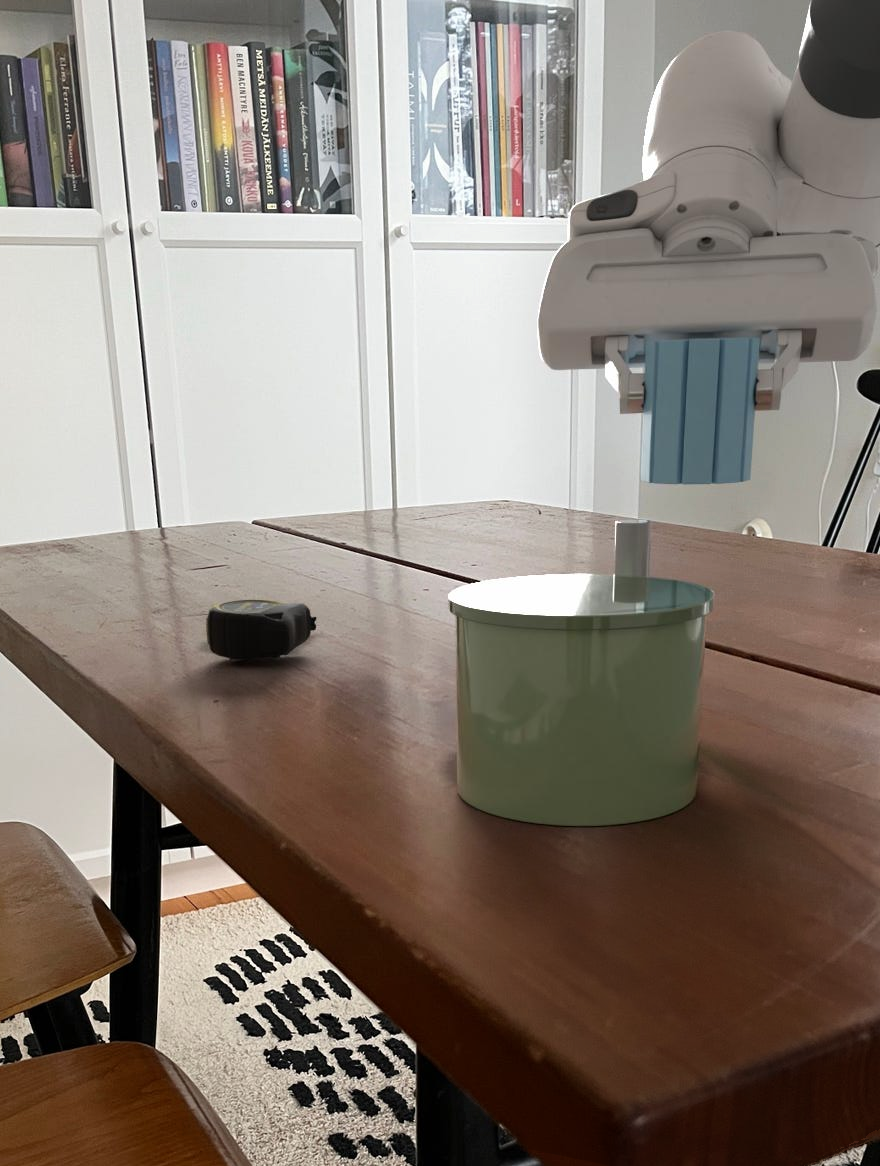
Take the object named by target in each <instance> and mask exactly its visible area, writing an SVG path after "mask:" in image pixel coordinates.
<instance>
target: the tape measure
mask: <svg viewBox="0 0 880 1166" xmlns="http://www.w3.org/2000/svg"><path fill="white" fill-rule="evenodd" d="M205 622H206V623H205V627H206V629H205V630H206V632H205V633H206V641H207V645H208V646H209V649H210V652H211V653H212V654H215V655H217V656H219V657H221V658H227V659H229V660H230V661H231V662H235V663H236V662H239V661H243V660H256V659H268V658H270V659H271V660H276V661H280V660H281V657H282V656H287V655H289V654H290V653H291V652H293V651H294V650H295V649H296V648H298V647H299V646H300V645H303V644H304V643H306V642H307V641H308V639H309V638H310V636H311V634H312V631H313V632H314V631H316V629H317V624H316V622H317V616H312V613H311V610H310V608H309V606H308V605H306V604H305V603H303V602H283V601H282V602H281V601H278V600H271V599H270V600H269V599H239V600H230V601H225V602H219V603H217V604H215V605H213V606H212V607H210V609H209V610H208V614H207V616H206V619H205Z"/></svg>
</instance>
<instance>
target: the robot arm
mask: <svg viewBox="0 0 880 1166" xmlns="http://www.w3.org/2000/svg"><path fill="white" fill-rule="evenodd" d="M642 153H643V155H642V173H643V180H642V181H640V182H637V183H634V184H633V185H630V186H627V187H625V188H622V189H619V190H616V191H613V192H610V193H607V194H603V195H599V196H597V197H593V198H589V199H585V200H582V201H580V202H577V203H575V205H573V206H572V207H571V209H570V211H569V215H568V223H567V236H566V237H567V241H566V242H565V243H563V244H562V245H561V246H560V247H559V249H558V250H557V251H556V253H555V254H554V256H553V257H552V260H551V262H550V265H549V268H548V271H547V274H546V277H545V280H544V284H543V288H542V291H541V297H540V301H539V308H538V313H537V341H538V343H537V344H538V350H539V357H540V359H541V360H542V362H544V363H545V365H546V366H547V367H549V369H550V370H553V371H570V370H571V371H573V370H574V371H575V370H602V369H604V370H605V378H606V379H607V381H608V382H609V384H610V385H611V386H612V388H613V389H614V390H615V391H616V393H617V394H618V395H619V414H620V415H633V414H634V415H635V414H643V409H644V408H643V404H644V382H645V381H644V379H645V372H632V370H631V369H634V368H635V369H636V368H637V369H638V368H639V369H640V368H645V354H646V342H650V341H663V340H683V339H688V340H690V339H712V338H719V339H720V338H760V346H759V360H758V365H763V364H764V365H765V364H773V365H772V367H770V368H766V369H758V373H757V379H756V382H757V384H756V393H755V412H759V411H765V412H767V411H780V407H781V400H782V390H784V388H786V386H788V384H789V382H790V381H791V380H792V378H794V377H795V375H796V374H797V373H798V371H799V367H800V366H799V365H800V363H827V362H829V363H830V362H831V363H832V362H851V361H855V360H857V359H859V357H860V356H861V355H863V353H864V352H866V350H867V349H869V347H870V345H871V342H872V338H873V333H874V328H875V324H876V319H877V309H878V308H877V305H878V304H877V295H876V288H875V282H874V278H875V277H876V275H877V273H878V267H879V266H878V265H879V264H878V250H877V248H878V247H880V0H810V4H809V7H808V12H807V16H806V21H805V26H804V31H803V35H802V39H801V45H800V48H799V53H798V61H797V65H796V69H795V72H794V75H793V78H792V80H791V79H790V78H789V77H787V76H786V75H785V74H783V73H782V72H781V71H780V70H779V69H778V68H777V67H776V66H775V64H774V63H773V62H772V60H771V58H770V57H769V55H768V54H767V52H766V50H765V48H764V47H763V46H762V45H761V43H760V42H759V41H758V40H756V39H755V38H754V37H753V36H751V35H749V34H748V33H746V32H742V31H737V30H719V31H715V32H712V33H708V34H706V35H703V36H702V37H701V36H700V37H699V38H697V39H696V40H695V41H693V42H691V43H690V44H689V45H687V46H686V47H685V48H684V49H682V51H680V52H679V53H678V55H676V56H675V57H674V59H673V60H672V61H671V62H670V64H669V65H668V66H667V68H666V69H665V71H664V72H663V74H662V76H661V78H660V80H659V82H658V84H657V86H656V89H655V91H654V95H653V98H652V101H651V104H650V108H649V112H648V116H647V123H646V129H645V136H644V145H643V152H642Z"/></svg>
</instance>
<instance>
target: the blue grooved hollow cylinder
mask: <svg viewBox="0 0 880 1166" xmlns="http://www.w3.org/2000/svg"><path fill="white" fill-rule="evenodd" d="M759 346H760V338H720V339H719V338H712V339H690V340H688V339H683V340H663V341H650V342H646V354H645V367H644V373H645V379H644V381H645V382H644V404H643V408H644V409H643V413H642V428H641V429H642V431H641V432H642V433H641V434H642V435H641V455H640V456H641V459H640V482H643V483H647V484H657V485H711V484H713V485H714V484H715V485H721V484H723V485H724V484H734V483H744V482H747V481H750V480H751V475H752V474H751V473H752V460H753V447H754V430H755V416H756V411H755V393H756V384H757V382H756V379H757V373H758V370H759V364H758V360H759Z"/></svg>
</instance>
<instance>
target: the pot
mask: <svg viewBox="0 0 880 1166" xmlns="http://www.w3.org/2000/svg"><path fill="white" fill-rule="evenodd" d="M652 523H653V522H652V520H650V519H649V520H647V519H620V520H619V519H618V520H616V521H615V527H614V556H613V557H614V559H613V562H614V563H613V574H609V573H608V574H607V573H605V574H602V573H601V574H600V573H599V574H597V573H596V574H595V573H574V574H573V573H570V574H569V573H568V574H567V573H565V574H544V575H527V576H516V577H507V578H498V579H497V578H496V579H490V580H485V581H480V582H475V583H470V584H467V585H463V586H460V587H458V588H456V589H454V590H452V591H451V592H450V593H448V596H447V606H448V607H447V608H448V611H449V612H450V613H451V614H452V615H453V616H454V629H455V630H454V633H455V637H454V638H455V643H454V644H455V711H456V712H455V714H456V715H455V721H456V722H455V723H456V726H455V727H456V733H455V734H456V790H457V793H458V795H459V797H460V798H461V799H462V800H463V802H465V803H466V804H468V805H469V806H471V807H473V808H475V809H477V810H479V811H482V812H485V813H487V814H490V815H493V816H497V817H499V818H504V819H508V820H512V821H517V822H518V821H519V822H522V823H523V822H524V823H530V824H538V825H545V826H546V825H547V826H561V827H562V826H563V827H600V826H601V827H602V826H603V827H604V826H616V825H627V824H633V823H640V822H644V821H649V820H653V819H658V818H662V817H665V816H668V815H670V814H673V813H677V812H678V811H680V810H682V809H684V808H685V807H687V806H688V805H689V804H691V803H692V802H693V800H695V797H696V795H697V787H698V772H699V770H698V769H699V755H700V754H699V753H700V750H699V749H700V735H701V721H702V720H701V718H702V703H703V684H704V667H705V666H704V665H705V650H706V649H705V648H706V635H707V617H708V615H709V614H710V613H712V612H713V610H714V609H715V603H716V602H715V601H716V595H715V592H714V591H713V590H712V589H710V588H708V587H706V586H704V585H701V584H698V583H695V582H694V583H693V582H689V581H684V580H680V579H673V578H665V577H656V576H650V569H651V544H652Z"/></svg>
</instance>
